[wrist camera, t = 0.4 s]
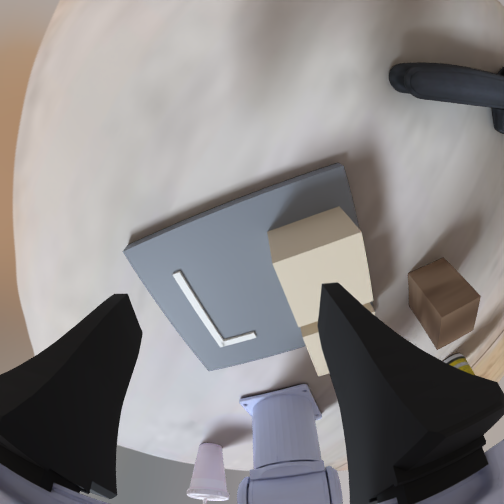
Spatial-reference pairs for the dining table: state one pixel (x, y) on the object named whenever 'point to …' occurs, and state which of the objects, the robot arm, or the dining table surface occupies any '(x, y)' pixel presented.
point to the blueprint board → (257, 269)
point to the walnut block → (442, 302)
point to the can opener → (452, 86)
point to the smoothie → (209, 475)
